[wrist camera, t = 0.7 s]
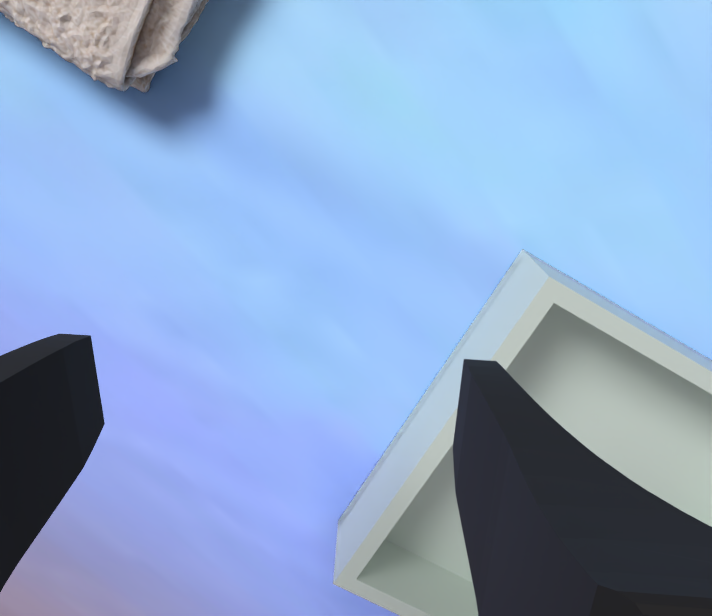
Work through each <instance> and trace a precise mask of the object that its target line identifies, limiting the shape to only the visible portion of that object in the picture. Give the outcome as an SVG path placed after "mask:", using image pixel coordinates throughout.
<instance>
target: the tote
mask: <svg viewBox="0 0 712 616" xmlns="http://www.w3.org/2000/svg"><path fill="white" fill-rule="evenodd" d="M464 359H473V360H489V361H497V362H498V363H499V364H500V365H501V366H502V367H503V368H504V369H505V370H506V371H507V372H508V373H509V374H510V376H511V377H512V378H513V379H514V380H515V381H516V382H517V383H518V384H519V385H520V386H521V387H522V388H523V389H524V390H525V391H526V392H527V393H528V394H529V395H530V396H531V397H532V398H533V399H534V400H535V401H536V402H537V403H538V404H539V405H540V406H541V407H542V408H543V409H544V410H545V411H546V412H547V413H548V414H549V415H550V416H551V417H552V418H553V419H554V420H555V421H556V422H558V423H559V424H560V425H561V426H562V427H563V428H564V429H565V430H566V431H568V432H569V433H570V434H571V435H572V436H574V437H575V438H576V439H577V440H578V441H579V442H581V443H582V444H583V445H584V446H585V447H587V448H588V449H589V450H590V451H592V452H593V453H594V454H596V455H597V456H598V457H599V458H601V459H602V460H604V461H605V462H606V463H608V464H609V465H611V466H612V467H613V468H615V469H616V470H618V471H619V472H620V473H622V474H623V475H625V476H626V477H627V478H629V479H630V480H632V481H633V482H635V483H636V484H638V485H640V486H641V487H643V488H644V489H646V490H647V491H649V492H651V493H652V494H654V495H656V496H657V497H659V498H661V499H663V500H664V501H666V502H668V503H669V504H671V505H673V506H674V507H676V508H678V509H679V510H681V511H683V512H685V513H687V514H688V515H690V516H692V517H694V518H696V519H698V520H700V521H702V522H703V523H705V524H707V525H709V526H711V527H712V360H710V359H709V358H707V357H705V356H703V355H702V354H700V353H698V352H697V351H695V350H693V349H692V348H690V347H688V346H686V345H685V344H683V343H681V342H680V341H678V340H676V339H675V338H673V337H671V336H669V335H668V334H666V333H664V332H663V331H661V330H659V329H658V328H656V327H654V326H652V325H651V324H649V323H647V322H646V321H644V320H642V319H641V318H639V317H637V316H635V315H634V314H632V313H630V312H629V311H627V310H625V309H624V308H622V307H620V306H618V305H617V304H615V303H613V302H612V301H610V300H608V299H607V298H605V297H603V296H601V295H600V294H598V293H596V292H595V291H593V290H591V289H590V288H588V287H586V286H584V285H583V284H581V283H579V282H578V281H576V280H574V279H573V278H571V277H569V276H567V275H566V274H564V273H562V272H561V271H559V270H557V269H556V268H554V267H552V266H550V265H549V264H547V263H545V262H544V261H542V260H540V259H539V258H537V257H535V256H533V255H532V254H530V253H528V252H527V251H525V250H523V249H522V250H521V252H520V253H519V255H518V256H517V258H516V259H515V261H514V262H513V263H512V265H511V266H510V268H509V269H508V271H507V272H506V274H505V275H504V277H503V278H502V280H501V281H500V283H499V284H498V286H497V287H496V289H495V290H494V292H493V293H492V294H491V296H490V297H489V299H488V300H487V302H486V303H485V305H484V306H483V308H482V309H481V311H480V312H479V314H478V315H477V317H476V318H475V320H474V321H473V323H472V324H471V325H470V327H469V328H468V330H467V331H466V333H465V334H464V336H463V337H462V339H461V340H460V342H459V343H458V345H457V346H456V348H455V349H454V351H453V352H452V354H451V355H450V356H449V358H448V359H447V361H446V362H445V364H444V365H443V367H442V368H441V370H440V371H439V373H438V374H437V376H436V377H435V379H434V380H433V382H432V383H431V385H430V386H429V387H428V389H427V390H426V392H425V393H424V395H423V396H422V398H421V399H420V401H419V402H418V404H417V405H416V407H415V408H414V410H413V411H412V413H411V414H410V416H409V417H408V418H407V420H406V421H405V423H404V424H403V426H402V427H401V429H400V430H399V432H398V433H397V435H396V436H395V438H394V439H393V441H392V442H391V444H390V445H389V447H388V448H387V449H386V451H385V452H384V454H383V455H382V457H381V458H380V460H379V461H378V463H377V464H376V466H375V467H374V469H373V470H372V472H371V473H370V475H369V476H368V478H367V479H366V480H365V482H364V483H363V485H362V486H361V488H360V489H359V491H358V492H357V494H356V495H355V497H354V498H353V500H352V501H351V503H350V504H349V506H348V507H347V509H346V510H345V511H344V513H343V514H342V516H341V517H340V519H339V520H338V529H337V541H336V554H335V566H334V579H333V584H334V585H336V586H338V587H341V588H343V589H345V590H347V591H349V592H351V593H353V594H355V595H357V596H360V597H362V598H364V599H366V600H368V601H370V602H372V603H374V604H376V605H378V606H381V607H383V608H385V609H387V610H389V611H391V612H393V613H395V614H397V615H400V616H478V609H477V603H476V596H475V591H474V586H473V581H472V576H471V571H470V566H469V561H468V556H467V551H466V545H465V540H464V535H463V530H462V525H461V520H460V515H459V509H458V504H457V499H456V493H455V479H454V462H453V441H454V433H455V425H456V417H457V409H458V401H459V393H460V385H461V377H462V369H463V361H464Z"/></svg>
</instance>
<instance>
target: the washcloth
mask: <svg viewBox="0 0 712 616" xmlns="http://www.w3.org/2000/svg"><path fill="white" fill-rule="evenodd" d="M208 1H209V0H0V11H1V12H2V13H3V14H4V15H5V17H6V18H7V19H9V20H10V21H11V22H15V25H16V26H17V27H20V28H23V29H25V30H26V31H28V32H29V33H30V34H32V35H34V36H36V37H38V38H39V39H40V41H42V45H43V46H44V47H45V48H50V49H52V50H54V51H55V52H56V53H57V54H58V55H59V56H60V57H62V58H63V59H64V60H66V61H68V62H70V63H73V64H75V65H76V66H77V67H78V68H80V69H81V70H82V71H83V72H85V73H86V74H88V75H90V77H91V78H93V80H94V81H95V80H99V81H101V82H103V83H104V84H106V85H107V86H108V87H109V88H115V89H117V90H120V91H126V90H127V89H128V88H129V87H130V86H131V87H134V88H136V89H138V90H140V91H141V92H144V93H145V92H148V90H149V88H150V82H151V80H152V78H153V77H154V75H155V72H157V71H160V70H162V69H164V68H166V67H168V66H169V65H171V64H173V63H175V62H177V61H178V60H177V58H175V53H176V52H177V51H178V50H179V44H180V43H181V42H182V41H183V40H184V39H185V38H186V37H187V36H188V34H189V33H190V31H191V29H192V28H193V26H194V25H195V23H196V22H197V21H198V19H199V16H200V14H201V13H202V11H203V10H204V8H205V5H206V3H207V2H208Z"/></svg>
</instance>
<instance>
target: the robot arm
mask: <svg viewBox="0 0 712 616" xmlns="http://www.w3.org/2000/svg"><path fill="white" fill-rule="evenodd" d="M103 426H104V418H103V411H102V405H101V398H100V392H99V386H98V379H97V373H96V367H95V360H94V354H93V348H92V341H91V336H88V335H72V334H57V335H54V336H50V337H47V338H44V339H41V340H39V341H36V342H33V343H31V344H28V345H26V346H23V347H21V348H18V349H16V350H13V351H11V352H9V353H6V354H4V355H1V356H0V592H1V590H2V588H3V586H4V585H5V583H6V581H7V580H8V578H9V577H10V575H11V574H12V572H13V570H14V569H15V567H16V566H17V564H18V562H19V561H20V560H21V558H22V557H23V555H24V554H25V552H26V551H27V549H28V548H29V546H30V545H31V544H32V542H33V541H34V539H35V538H36V536H37V535H38V533H39V532H40V531H41V529H42V528H43V526H44V525H45V523H46V522H47V520H48V519H49V518H50V516H51V515H52V513H53V512H54V510H55V509H56V507H57V506H58V504H59V503H60V502H61V500H62V499H63V497H64V496H65V494H66V493H67V491H68V490H69V488H70V487H71V485H72V484H73V482H74V481H75V479H76V478H77V476H78V475H79V473H80V472H81V470H82V469H83V467H84V465H85V463H86V461H87V459H88V457H89V456H90V454H91V452H92V450H93V448H94V446H95V443H96V441H97V439H98V437H99V435H100V432H101V430H102V428H103ZM453 462H454V479H455V493H456V499H457V504H458V509H459V515H460V520H461V525H462V530H463V535H464V540H465V545H466V551H467V556H468V561H469V566H470V571H471V576H472V581H473V586H474V591H475V596H476V603H477V609H478V616H712V527H711V526H709V525H707V524H705V523H703V522H702V521H700V520H698V519H696V518H694V517H692V516H690V515H688V514H687V513H685V512H683V511H681V510H679V509H678V508H676V507H674V506H673V505H671V504H669V503H668V502H666V501H664V500H663V499H661V498H659V497H657V496H656V495H654V494H652V493H651V492H649V491H647V490H646V489H644V488H643V487H641V486H640V485H638V484H636V483H635V482H633V481H632V480H630V479H629V478H627V477H626V476H625V475H623V474H622V473H620V472H619V471H618V470H616V469H615V468H613V467H612V466H611V465H609V464H608V463H606V462H605V461H604V460H602V459H601V458H599V457H598V456H597V455H596V454H594V453H593V452H592V451H590V450H589V449H588V448H587V447H585V446H584V445H583V444H582V443H581V442H579V441H578V440H577V439H576V438H575V437H574V436H572V435H571V434H570V433H569V432H568V431H566V430H565V429H564V428H563V427H562V426H561V425H560V424H559V423H558V422H556V421H555V420H554V419H553V418H552V417H551V416H550V415H549V414H548V413H547V412H546V411H545V410H544V409H543V408H542V407H541V406H540V405H539V404H538V403H537V402H536V401H535V400H534V399H533V398H532V397H531V396H530V395H529V394H528V393H527V392H526V391H525V390H524V389H523V388H522V387H521V386H520V385H519V384H518V383H517V382H516V381H515V380H514V379H513V378H512V377H511V376H510V374H509V373H508V372H507V371H506V370H505V369H504V368H503V367H502V366H501V365H500V364H499V363H498V362H497V361H489V360H473V359H464V361H463V369H462V377H461V385H460V393H459V401H458V409H457V417H456V425H455V433H454V441H453Z"/></svg>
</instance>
